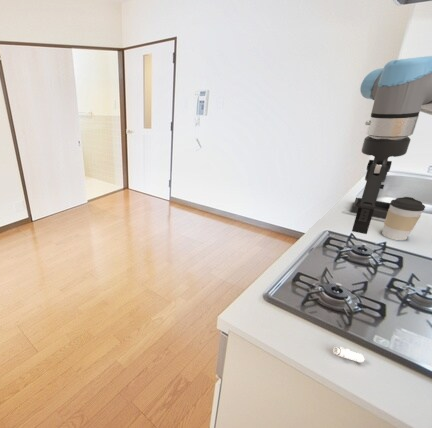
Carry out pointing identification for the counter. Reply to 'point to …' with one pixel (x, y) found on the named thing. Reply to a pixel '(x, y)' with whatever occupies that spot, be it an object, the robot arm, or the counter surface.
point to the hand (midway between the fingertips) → (362, 221)
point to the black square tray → (379, 209)
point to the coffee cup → (402, 217)
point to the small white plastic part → (348, 354)
